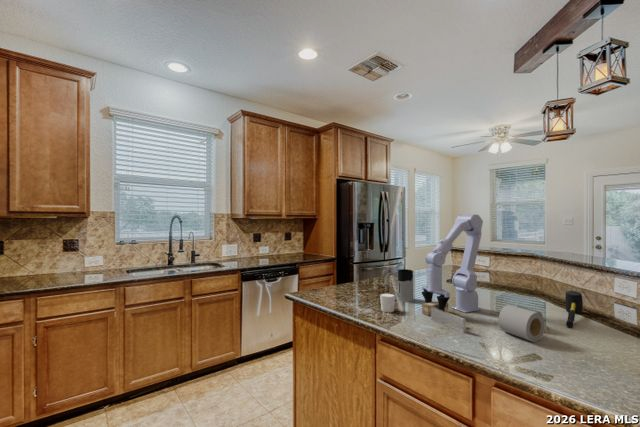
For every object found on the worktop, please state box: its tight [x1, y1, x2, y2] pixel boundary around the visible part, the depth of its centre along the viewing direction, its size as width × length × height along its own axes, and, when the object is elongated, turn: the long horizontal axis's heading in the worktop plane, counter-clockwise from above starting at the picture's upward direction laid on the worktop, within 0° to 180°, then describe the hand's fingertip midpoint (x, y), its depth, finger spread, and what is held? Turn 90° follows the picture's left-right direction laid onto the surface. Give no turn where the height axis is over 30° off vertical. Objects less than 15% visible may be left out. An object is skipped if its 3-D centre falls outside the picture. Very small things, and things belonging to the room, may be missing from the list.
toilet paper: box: [498, 304, 546, 343], centre depth 111 cm, size 10×10×10 cm
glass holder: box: [385, 268, 415, 303], centre depth 159 cm, size 9×14×15 cm, turn 89°
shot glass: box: [379, 292, 396, 313], centre depth 141 cm, size 7×7×7 cm
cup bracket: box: [430, 307, 467, 334], centre depth 123 cm, size 16×5×5 cm, turn 25°
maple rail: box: [421, 300, 449, 317], centre depth 138 cm, size 12×4×4 cm, turn 114°
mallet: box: [564, 290, 584, 329], centre depth 129 cm, size 29×6×10 cm, turn 138°
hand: (435, 309), depth 138 cm, fingers open, 7 cm apart
